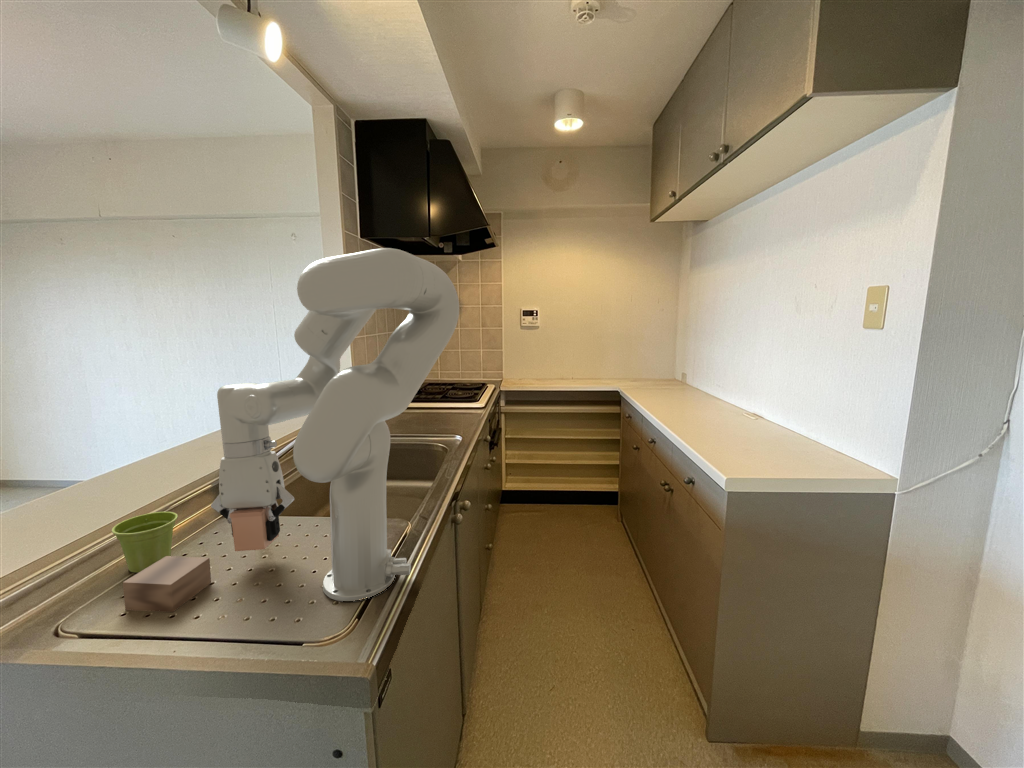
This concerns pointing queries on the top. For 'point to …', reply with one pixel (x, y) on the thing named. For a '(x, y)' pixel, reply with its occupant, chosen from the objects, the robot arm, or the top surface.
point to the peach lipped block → (250, 529)
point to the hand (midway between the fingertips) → (257, 538)
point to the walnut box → (167, 584)
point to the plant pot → (146, 538)
